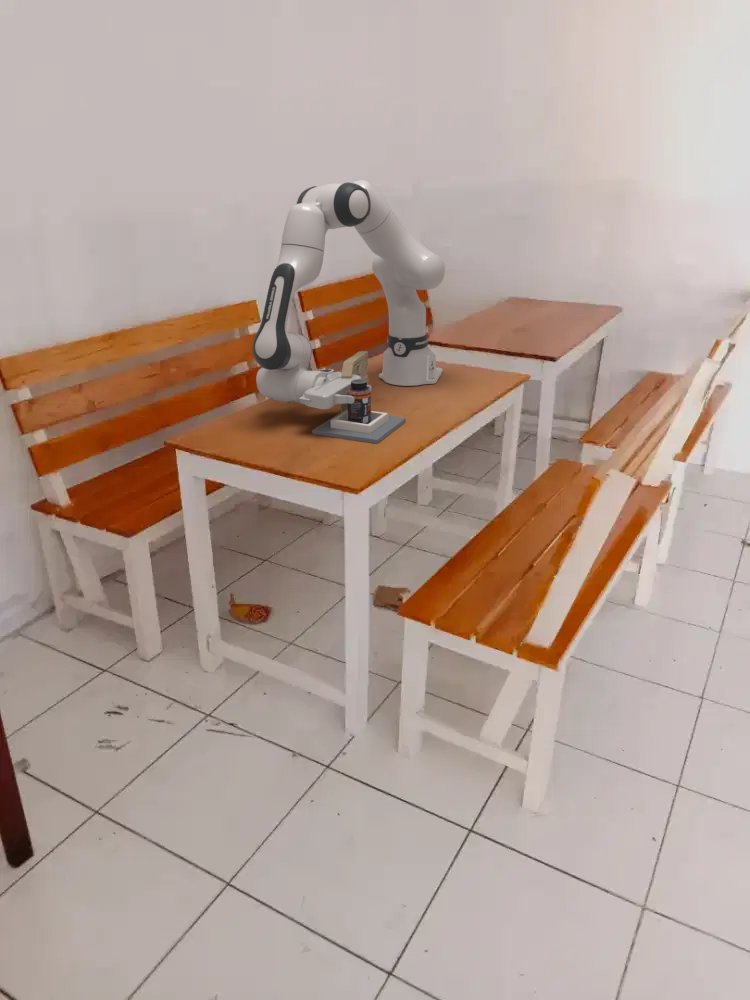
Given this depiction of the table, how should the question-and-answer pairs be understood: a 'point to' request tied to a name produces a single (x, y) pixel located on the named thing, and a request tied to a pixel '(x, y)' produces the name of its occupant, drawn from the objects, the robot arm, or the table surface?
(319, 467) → the table surface
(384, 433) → the holder
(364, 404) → the supplement bottle
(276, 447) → the table surface
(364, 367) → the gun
